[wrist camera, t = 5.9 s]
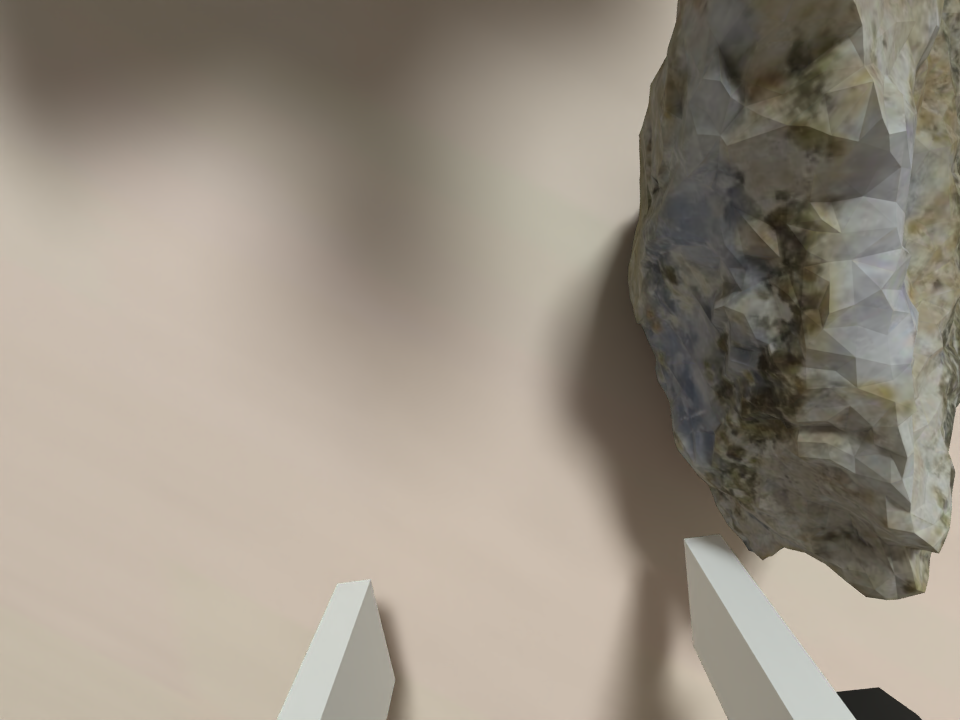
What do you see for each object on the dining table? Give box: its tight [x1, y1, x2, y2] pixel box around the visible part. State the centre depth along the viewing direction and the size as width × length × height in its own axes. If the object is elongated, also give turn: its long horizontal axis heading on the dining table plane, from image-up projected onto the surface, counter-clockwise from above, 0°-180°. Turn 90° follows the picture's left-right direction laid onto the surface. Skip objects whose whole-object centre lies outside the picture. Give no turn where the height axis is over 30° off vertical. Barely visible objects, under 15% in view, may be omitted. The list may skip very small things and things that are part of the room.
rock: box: [628, 0, 960, 600], centre depth 10 cm, size 11×6×10 cm
